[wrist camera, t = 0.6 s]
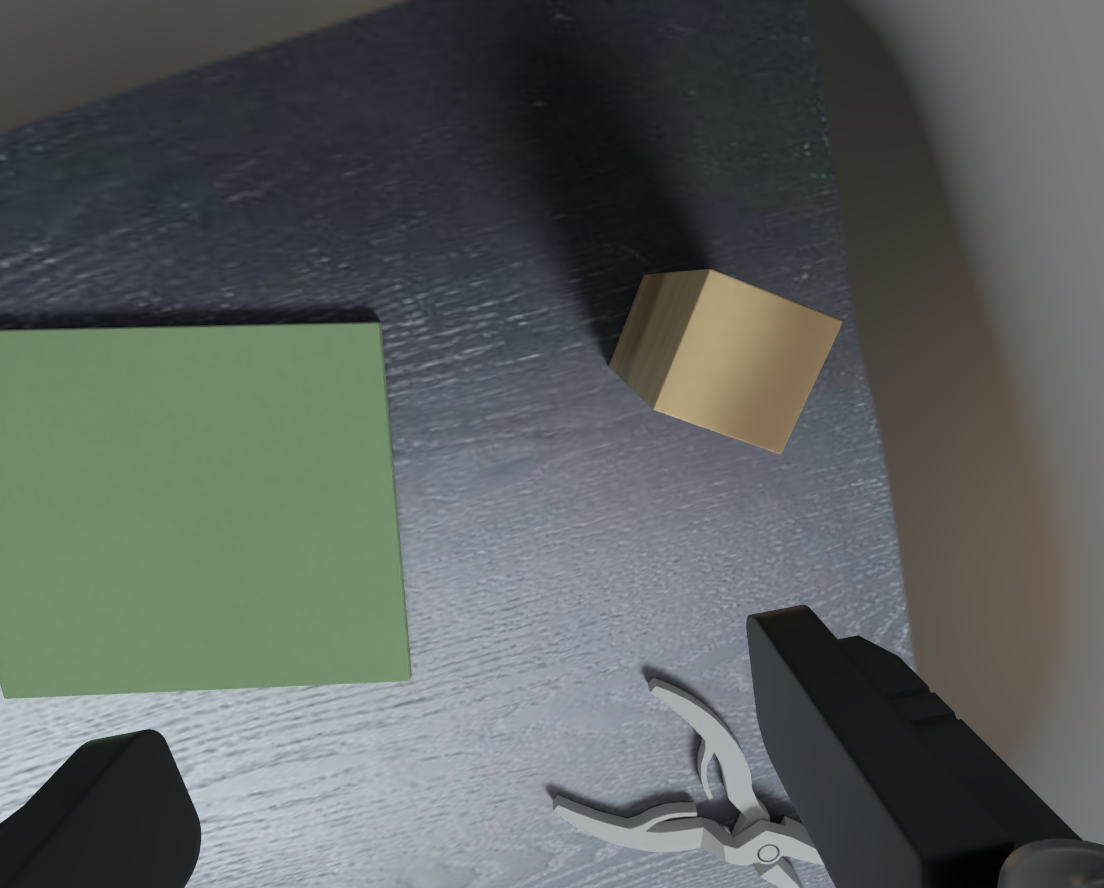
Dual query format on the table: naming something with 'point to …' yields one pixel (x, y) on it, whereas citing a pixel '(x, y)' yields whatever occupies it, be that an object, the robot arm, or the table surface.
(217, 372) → the mat
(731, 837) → the pliers
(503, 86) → the table surface
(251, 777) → the table surface
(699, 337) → the block
